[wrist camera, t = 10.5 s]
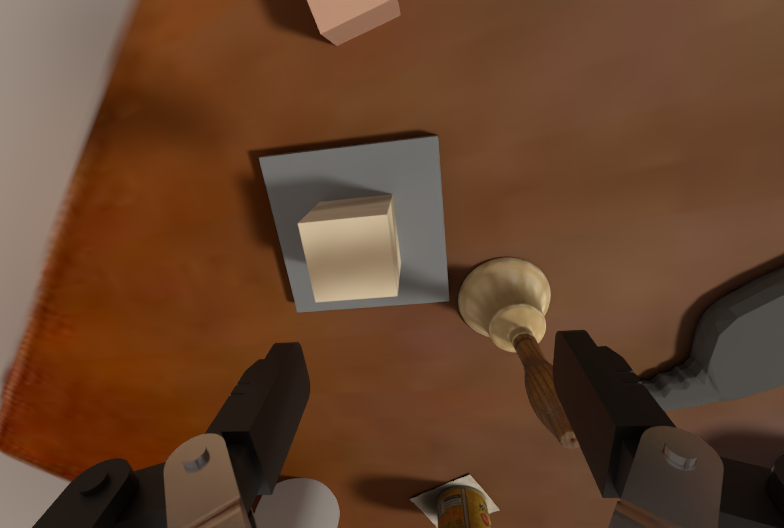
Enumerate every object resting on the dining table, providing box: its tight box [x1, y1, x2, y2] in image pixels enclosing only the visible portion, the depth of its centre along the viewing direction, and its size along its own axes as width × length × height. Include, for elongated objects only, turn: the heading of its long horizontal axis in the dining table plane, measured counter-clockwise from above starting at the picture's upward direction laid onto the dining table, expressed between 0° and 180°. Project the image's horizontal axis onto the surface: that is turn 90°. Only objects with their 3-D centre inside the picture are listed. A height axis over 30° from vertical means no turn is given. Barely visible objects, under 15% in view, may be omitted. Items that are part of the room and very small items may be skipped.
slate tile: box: [259, 135, 449, 312], centre depth 32 cm, size 14×14×2 cm
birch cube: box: [298, 194, 401, 302], centre depth 28 cm, size 6×6×6 cm
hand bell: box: [458, 257, 580, 448], centre depth 27 cm, size 8×8×16 cm
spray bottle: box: [641, 267, 784, 411], centre depth 34 cm, size 3×11×24 cm
